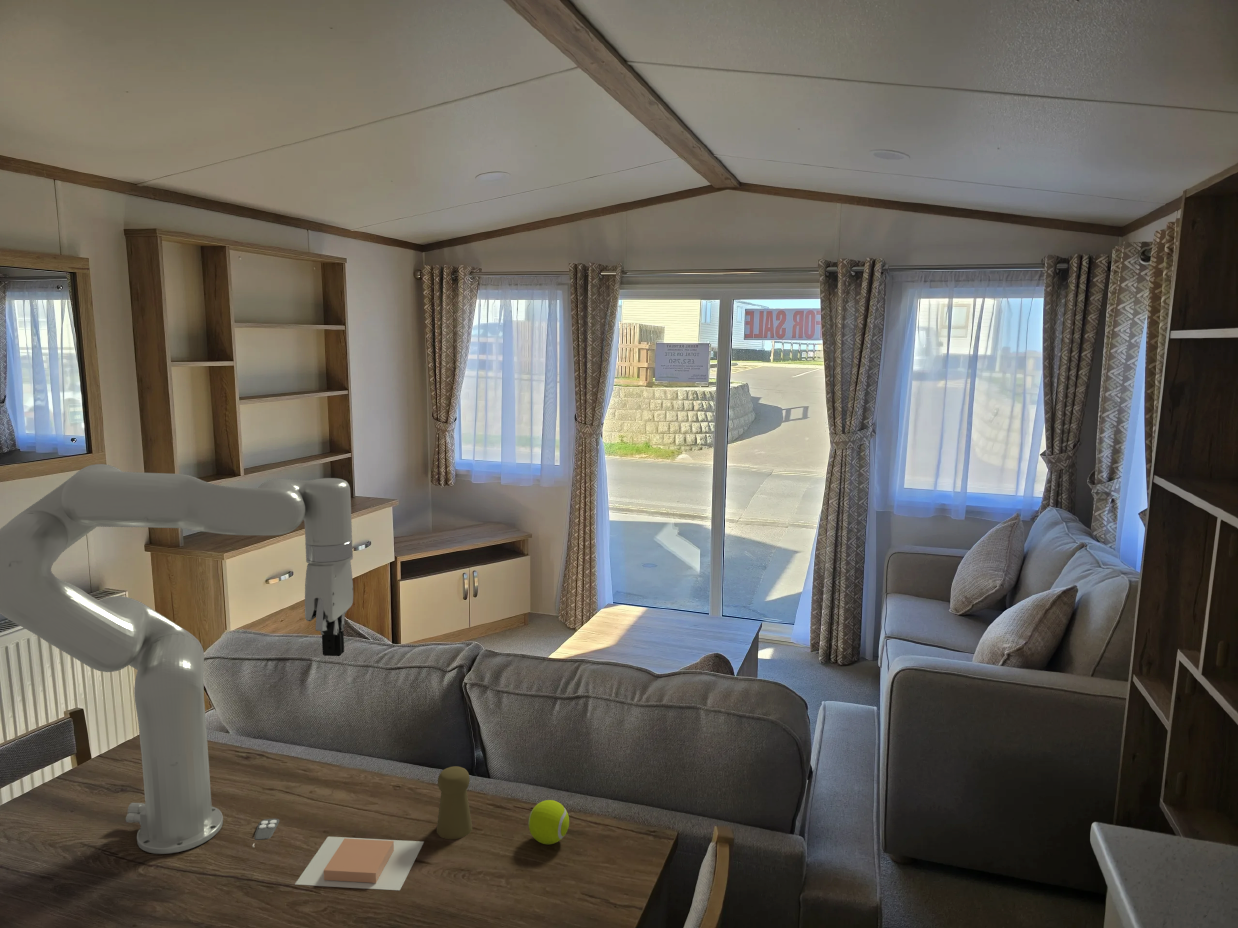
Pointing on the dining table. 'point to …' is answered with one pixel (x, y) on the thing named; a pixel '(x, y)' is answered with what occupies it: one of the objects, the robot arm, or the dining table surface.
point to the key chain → (266, 829)
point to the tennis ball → (548, 822)
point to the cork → (454, 804)
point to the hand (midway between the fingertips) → (333, 653)
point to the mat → (388, 880)
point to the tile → (359, 860)
